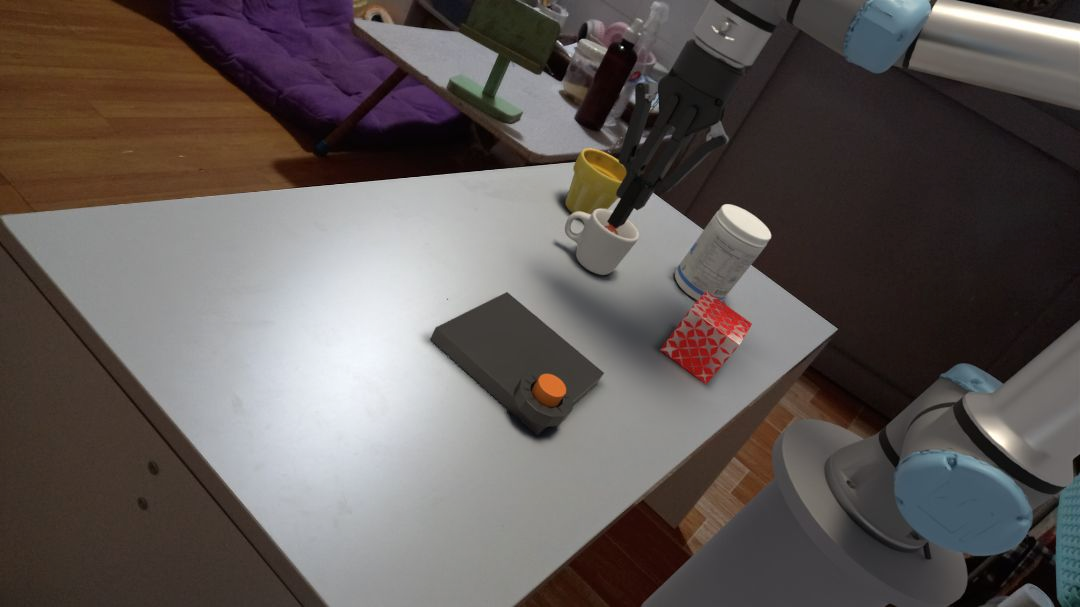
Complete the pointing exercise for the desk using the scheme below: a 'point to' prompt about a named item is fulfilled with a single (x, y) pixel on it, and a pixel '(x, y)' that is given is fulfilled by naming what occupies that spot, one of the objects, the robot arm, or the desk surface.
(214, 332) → the desk surface
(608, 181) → the flower pot
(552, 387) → the button
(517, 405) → the scale
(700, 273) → the supplement tub
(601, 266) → the cup
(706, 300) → the red patterned cube
